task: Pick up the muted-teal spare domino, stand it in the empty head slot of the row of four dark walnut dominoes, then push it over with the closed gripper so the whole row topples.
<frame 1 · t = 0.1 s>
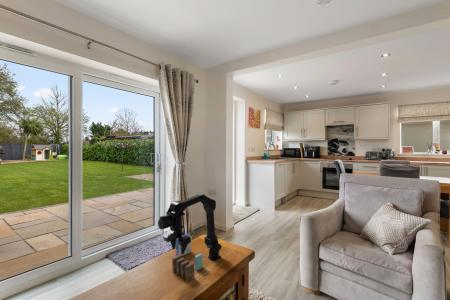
hand: (178, 251, 122), 15 cm above the table, fingers open, 9 cm apart
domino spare: (198, 268, 130), on the table
domino 4: (185, 276, 123), on the table
domino 5: (190, 279, 120), on the table
domino 2: (176, 270, 129), on the table
ink cartridge box: (183, 253, 150), on the table
domino 3: (181, 273, 126), on the table
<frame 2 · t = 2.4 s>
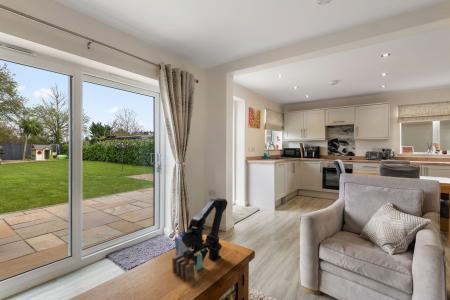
hand: (198, 264, 130), 3 cm above the table, fingers closed on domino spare, 5 cm apart
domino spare: (198, 268, 130), on the table, touching gripper
everything else where it was.
when the fingers open (4 cm above the table, at t = 6.4 s): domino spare drops 1 cm, on the table.
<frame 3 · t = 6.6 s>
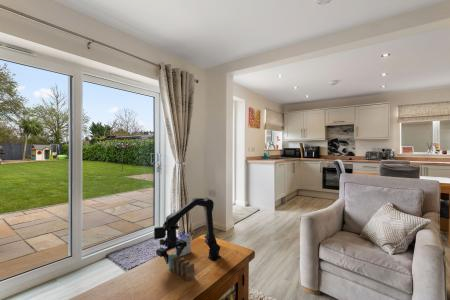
hand: (172, 261, 132), 4 cm above the table, fingers open, 7 cm apart
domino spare: (172, 267, 132), on the table
everything else where it was.
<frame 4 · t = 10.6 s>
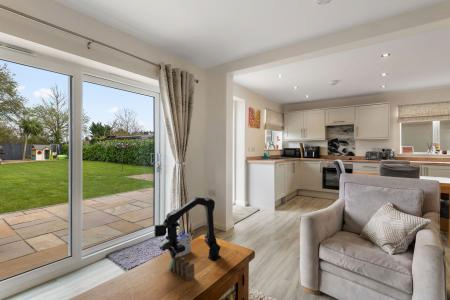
hand: (173, 259, 132), 5 cm above the table, fingers closed
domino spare: (172, 267, 132), on the table, tilted 29°
domino 2: (176, 270, 129), on the table, tilted 9°
everything else where it was.
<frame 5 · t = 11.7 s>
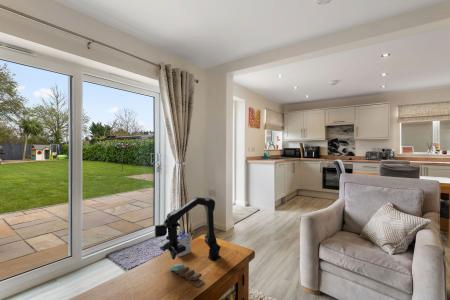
hand: (173, 259, 131), 6 cm above the table, fingers closed
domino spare: (173, 267, 131), point 1 cm above the table, tilted 69°, touching domino 2
domino 4: (188, 275, 122), point 1 cm above the table, tilted 75°, touching domino 3, domino 5
domino 5: (191, 279, 119), on the table, tilted 90°, touching domino 4
domino 2: (178, 270, 128), point 1 cm above the table, tilted 69°, touching domino 3, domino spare
domino 3: (182, 272, 125), point 1 cm above the table, tilted 71°, touching domino 2, domino 4
everything else where it was.
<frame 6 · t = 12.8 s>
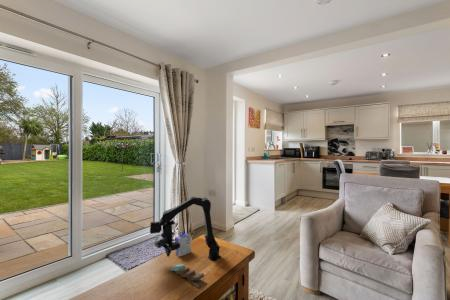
hand: (168, 256, 135), 6 cm above the table, fingers closed
domino 4: (190, 276, 121), point 1 cm above the table, tilted 75°, touching domino 3
domino 5: (192, 280, 119), on the table, tilted 90°
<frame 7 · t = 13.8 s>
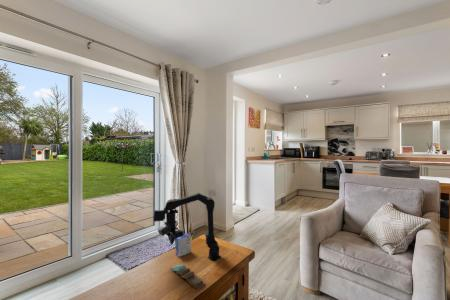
hand: (171, 244, 138), 12 cm above the table, fingers closed
domino 4: (190, 277, 119), point 2 cm above the table, tilted 90°
domino 3: (184, 274, 123), point 1 cm above the table, tilted 68°, touching domino 2
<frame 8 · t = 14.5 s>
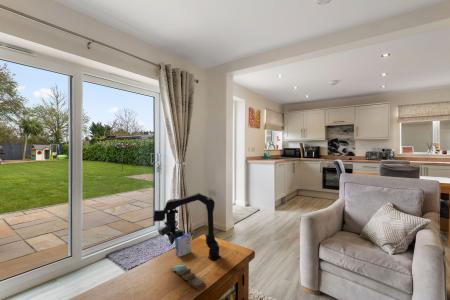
hand: (171, 244, 138), 12 cm above the table, fingers closed
domino 4: (191, 278, 118), point 2 cm above the table, tilted 90°, touching domino 5
domino 5: (192, 281, 118), on the table, tilted 90°, touching domino 4
domino 2: (180, 271, 127), point 1 cm above the table, tilted 72°, touching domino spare
domino 3: (185, 275, 123), point 1 cm above the table, tilted 70°
at the end: domino 5 tilted 90°; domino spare tilted 72°; the gripper is holding nothing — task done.
